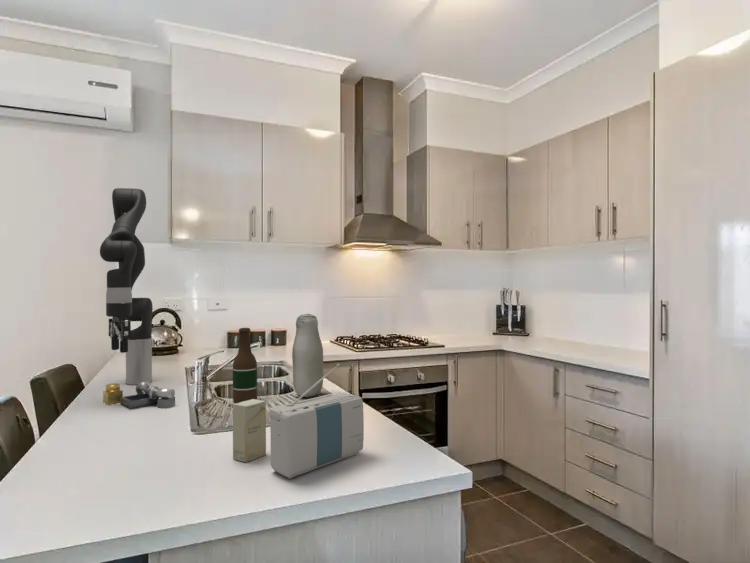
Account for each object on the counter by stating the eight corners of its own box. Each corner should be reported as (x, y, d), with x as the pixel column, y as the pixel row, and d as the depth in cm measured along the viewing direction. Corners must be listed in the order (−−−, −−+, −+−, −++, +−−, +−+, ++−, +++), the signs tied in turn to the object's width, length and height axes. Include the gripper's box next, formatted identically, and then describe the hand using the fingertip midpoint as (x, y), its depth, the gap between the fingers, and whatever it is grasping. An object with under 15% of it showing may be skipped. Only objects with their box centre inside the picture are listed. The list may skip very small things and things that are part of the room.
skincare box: (246, 463, 103) (245, 406, 103) (231, 459, 106) (231, 404, 106) (267, 454, 109) (266, 400, 109) (253, 450, 111) (252, 398, 111)
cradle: (120, 404, 154) (120, 397, 154) (148, 399, 160) (148, 392, 160) (130, 409, 148) (130, 401, 148) (158, 404, 155) (158, 396, 155)
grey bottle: (310, 391, 170) (309, 312, 170) (328, 396, 163) (328, 313, 163) (287, 396, 163) (286, 314, 163) (305, 401, 156) (304, 315, 156)
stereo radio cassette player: (289, 483, 93) (288, 380, 93) (265, 472, 99) (264, 374, 99) (365, 454, 108) (364, 365, 108) (340, 446, 114) (340, 361, 114)
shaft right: (148, 407, 151) (148, 388, 151) (157, 403, 155) (157, 385, 155) (167, 408, 149) (167, 389, 149) (176, 404, 154) (176, 386, 154)
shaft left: (149, 400, 160) (149, 382, 160) (135, 401, 159) (134, 383, 159) (153, 395, 167) (153, 378, 167) (139, 396, 165) (139, 379, 165)
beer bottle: (227, 403, 155) (227, 328, 155) (242, 397, 162) (242, 326, 162) (247, 405, 152) (247, 329, 152) (262, 399, 159) (261, 327, 159)
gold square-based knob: (103, 403, 157) (103, 384, 157) (118, 400, 160) (117, 382, 160) (107, 405, 154) (107, 386, 154) (122, 402, 157) (122, 384, 157)
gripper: (99, 301, 160) (100, 350, 160) (113, 302, 150) (114, 354, 150) (124, 300, 165) (124, 347, 165) (139, 301, 155) (139, 352, 155)
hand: (119, 351), depth 157 cm, fingers open, 8 cm apart
